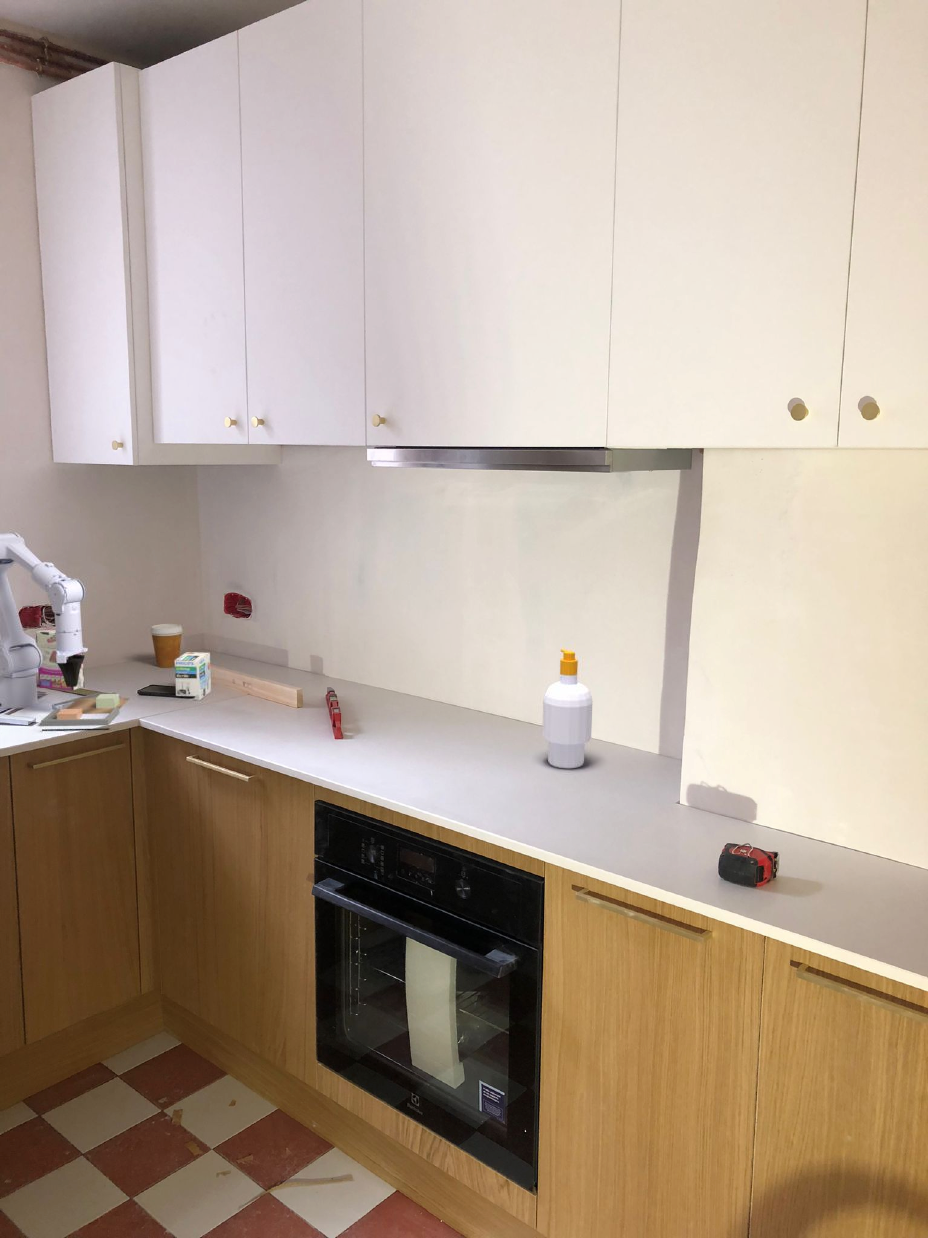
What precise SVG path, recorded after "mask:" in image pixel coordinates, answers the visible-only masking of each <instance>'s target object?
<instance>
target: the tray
mask: <svg viewBox="0 0 928 1238" xmlns="http://www.w3.org/2000/svg"><path fill="white" fill-rule="evenodd" d="M60 709H61V708H54V709H53V710H52V711H51V712H50V713H49V714H48V715H46V716H45V717H44V718H43V719H42V720H41V721H40V724H41V727H82V726H83V727H85V726H88V727H89V726H91V727H93V726H94V727H95V726H110V724H111V723H113V721H114V720H115V719H116V718H117V717H118V716H119V715H120V709H119V708H115V709H114V710H113V711H112V712H111V713H108V715H106V717H105V718H79V719H57V713H59V712H60V711H61V710H60ZM109 730H111V728H110V727H109V728H108V727H105V728H104V727H102V728H101V727H100V728H57V729H56V728H52V729H50V728H46V729H41V732H68V731H69V732H73V731H74V732H75V731H79V732H81V731H109Z"/></svg>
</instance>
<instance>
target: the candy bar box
mask: <svg viewBox="0 0 928 1238" xmlns="http://www.w3.org/2000/svg"><path fill="white" fill-rule="evenodd" d="M35 642H36V645H37V647H38V648H39V650H40V651H41V653H42V657H43V662H42V665H41V667H40V668H39V669H38V686H39V687H38V688H39V689H48V688H49V689H56V690H57V689H58V690H68V691H76V690H77V689H81V688H85V676H84V674H85V673H84V661H83V662H82V665H81V668H80V672H79V678H78V684H77V686H76V687H67V686H66V683H65V680H64V677H63V674H62V671H61V669H60V667H59V666H58V664H57V663H56V655H57V654H56V649H57V643H56V629H51V628H46V629H45V628H44V629H42V630H38V631H35ZM77 655H84V654H83V652H81V653H78V654H77Z"/></svg>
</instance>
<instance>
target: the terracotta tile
mask: <svg viewBox="0 0 928 1238" xmlns="http://www.w3.org/2000/svg"><path fill="white" fill-rule="evenodd" d="M82 717H83V714H82V709H66V708H62V709H61V710H60V712H59V713H57V717H56V719H82Z"/></svg>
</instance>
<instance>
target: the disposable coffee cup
mask: <svg viewBox="0 0 928 1238" xmlns="http://www.w3.org/2000/svg"><path fill="white" fill-rule="evenodd" d="M149 632H150V634H151V637H152V638H151V639H152V644H153V650H154V654H155V655H154V656H155V660H156V661H155V662H156V666H157V667H158V668H162V669H163V668H165V669H166V668H175V661H174V660H176V659H177V658H179V657H180V656H181V655H180V654H181V646H182V645H181V642H182V634H183V632H184V629H183V626H182V625H181V624H176V623H163V624H162V623H160V624H155V625H152V626H151V627H150V630H149Z"/></svg>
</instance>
